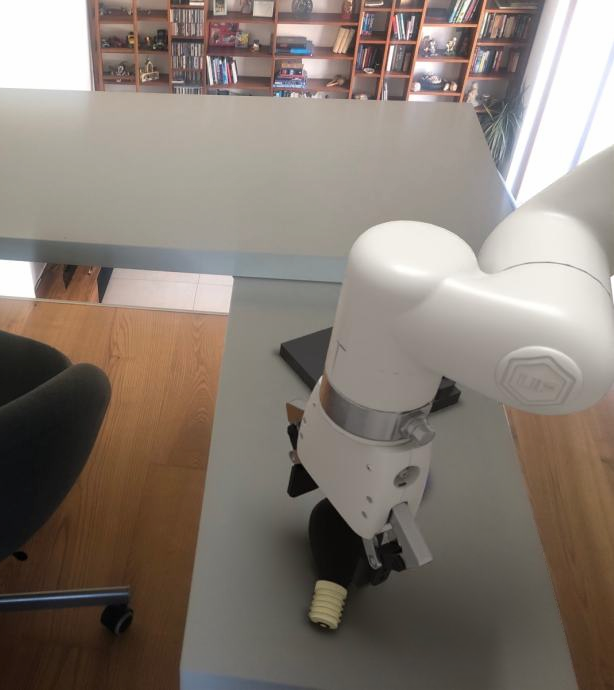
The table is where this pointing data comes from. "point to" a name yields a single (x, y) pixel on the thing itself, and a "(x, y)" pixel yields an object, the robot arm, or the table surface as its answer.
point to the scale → (311, 358)
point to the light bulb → (332, 561)
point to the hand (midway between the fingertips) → (334, 532)
